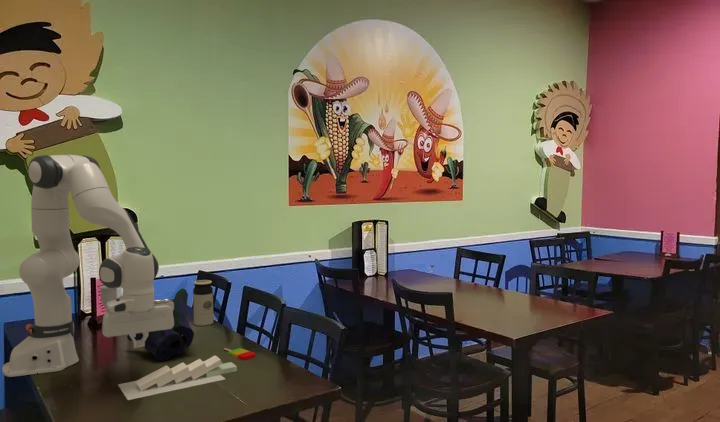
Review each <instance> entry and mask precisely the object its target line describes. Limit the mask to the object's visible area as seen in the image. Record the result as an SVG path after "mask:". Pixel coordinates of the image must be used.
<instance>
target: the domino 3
mask: <svg viewBox="0 0 720 422" xmlns="http://www.w3.org/2000/svg"><path fill="white" fill-rule="evenodd" d="M186 365H187V366H188V368H189V372H187V373H186V374H184V375H182V376H180V377H178V378H176V379H174V380H173V381H174V382H175V383H176V384H177V383H179V382H181V381H183V380H185V379H186V378H188V377H190V376H192V375H194V374H196V373H197V372H199V371H201V370H203V369H205V368H206V365H205V363H204V361H203V360H202V359H201V358H198V359H196V360H195V361H193V362H191V363H189V364H186Z"/></svg>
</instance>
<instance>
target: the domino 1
mask: <svg viewBox="0 0 720 422" xmlns="http://www.w3.org/2000/svg"><path fill="white" fill-rule="evenodd" d="M171 375H173V373H172V370H171V368H170V367H169V366H168V365H164V366H163V367H161V368H159V369H157V370H155V371H153V372H151V373H149V374H147V375H145V376H142V377H141V378H139V379H137V380H134V381H135V382H136V384H137V386H138V388H139V389H140V390H141V391H143V390H145V389H147V388H148V387H150V386H152V385H154V384H156V383H158V382H160V381H162V380H164V379H166V378H167V377H169V376H171Z"/></svg>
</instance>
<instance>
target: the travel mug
mask: <svg viewBox="0 0 720 422" xmlns="http://www.w3.org/2000/svg"><path fill="white" fill-rule="evenodd" d="M212 283H213V282H212V280H209V279H201V280H200V279H198V280H195V281H193V284H194V287H193V289H192V297H193V324H194V325H195V326H199V327H202V326H203V327H204V326H210V325H212V324H214V291H213V289H214V288H213V286H212Z"/></svg>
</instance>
